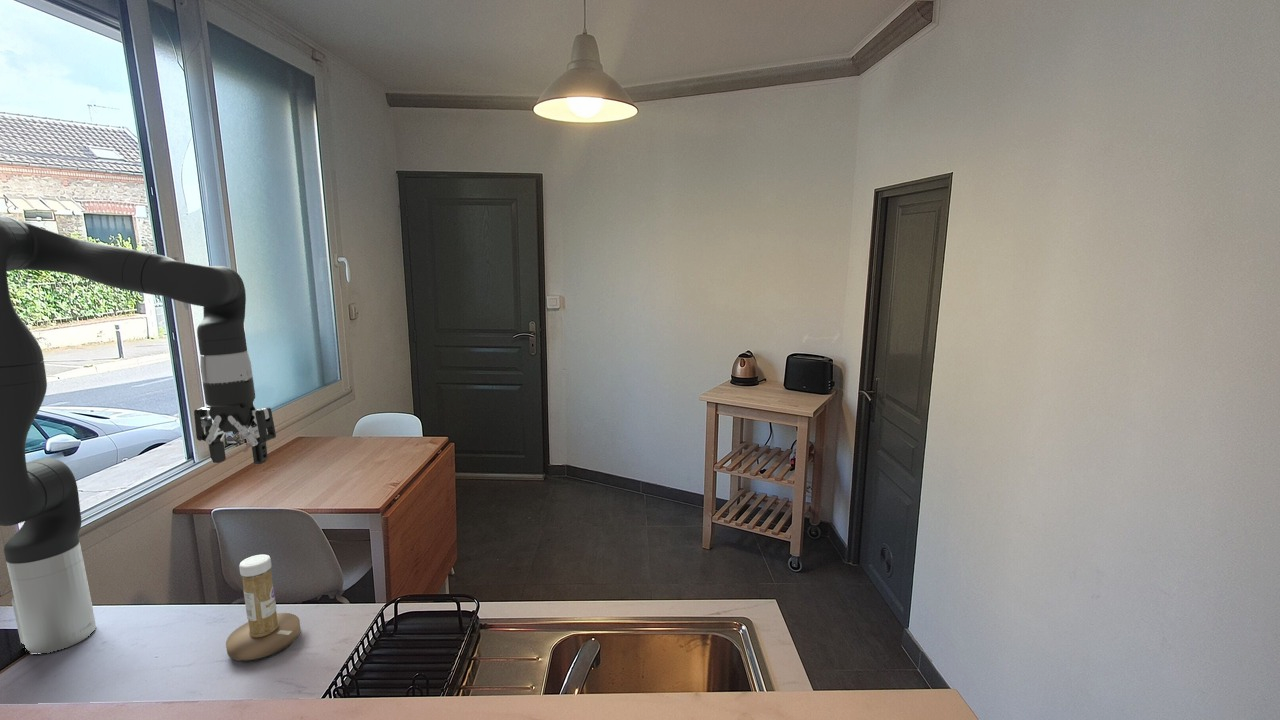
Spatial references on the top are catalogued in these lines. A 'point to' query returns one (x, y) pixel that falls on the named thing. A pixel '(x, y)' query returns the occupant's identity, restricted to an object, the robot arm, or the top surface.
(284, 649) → the turntable base
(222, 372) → the robot arm
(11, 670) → the top surface
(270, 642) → the disc
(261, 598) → the sprinkles bottle
